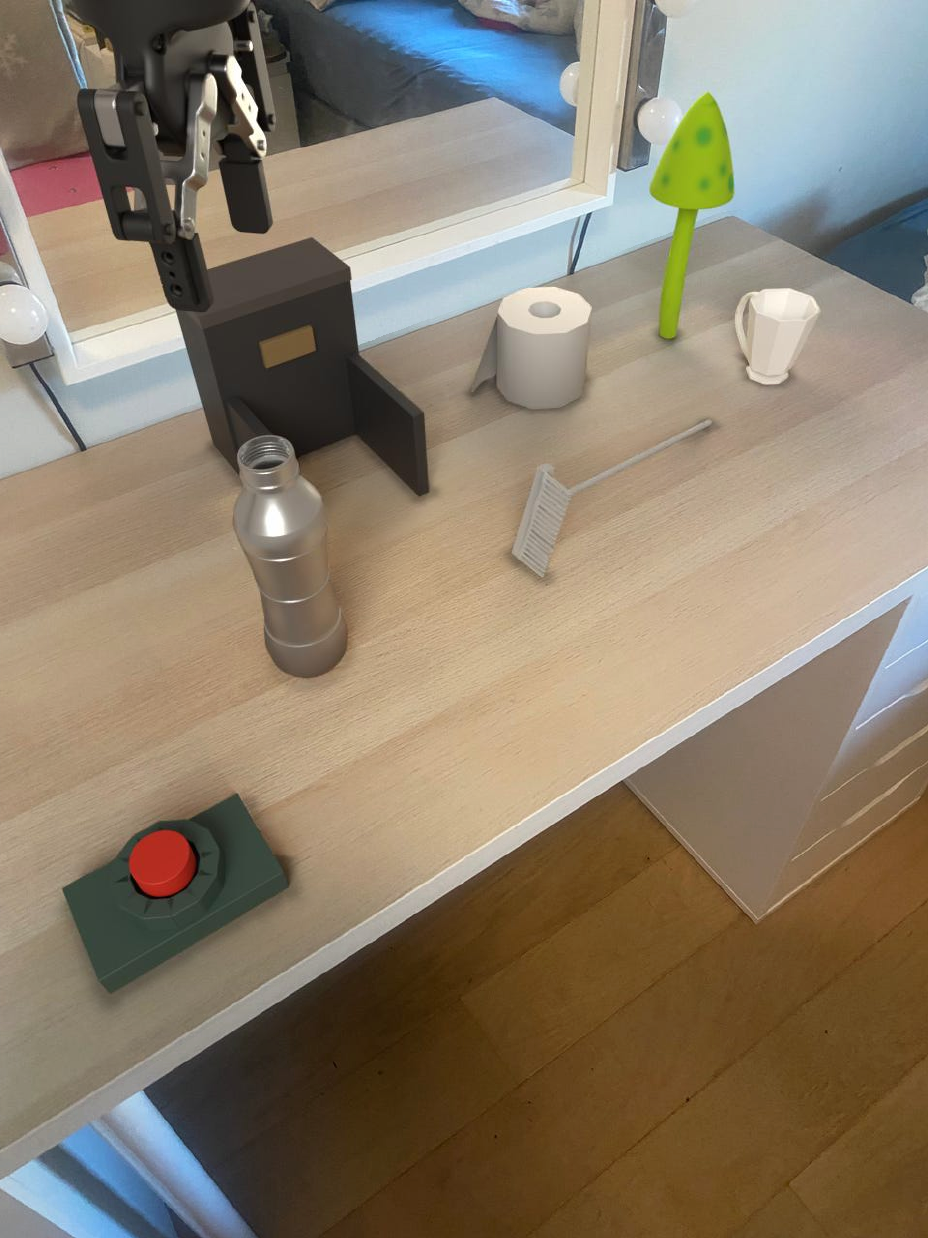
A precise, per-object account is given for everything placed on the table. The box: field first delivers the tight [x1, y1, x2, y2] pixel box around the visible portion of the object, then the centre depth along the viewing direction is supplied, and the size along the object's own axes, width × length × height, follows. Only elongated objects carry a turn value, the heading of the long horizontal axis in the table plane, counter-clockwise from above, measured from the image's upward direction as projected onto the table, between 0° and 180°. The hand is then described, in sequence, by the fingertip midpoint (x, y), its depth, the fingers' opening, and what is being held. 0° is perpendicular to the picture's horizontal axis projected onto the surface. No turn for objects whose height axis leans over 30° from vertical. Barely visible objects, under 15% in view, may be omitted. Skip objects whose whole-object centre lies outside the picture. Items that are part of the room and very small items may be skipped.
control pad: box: [61, 792, 290, 995], centre depth 56 cm, size 12×7×4 cm, turn 124°
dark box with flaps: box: [174, 236, 430, 497], centre depth 81 cm, size 19×14×17 cm
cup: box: [734, 287, 822, 386], centre depth 94 cm, size 7×10×8 cm
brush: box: [511, 418, 713, 578], centre depth 82 cm, size 4×28×9 cm, turn 133°
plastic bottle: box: [232, 435, 349, 679], centre depth 64 cm, size 6×7×20 cm
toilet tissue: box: [470, 286, 593, 410], centre depth 92 cm, size 9×13×9 cm
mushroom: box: [648, 91, 735, 339], centre depth 93 cm, size 8×8×25 cm
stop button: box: [129, 830, 196, 897], centre depth 54 cm, size 4×4×2 cm
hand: (224, 266), depth 47 cm, fingers open, 8 cm apart
